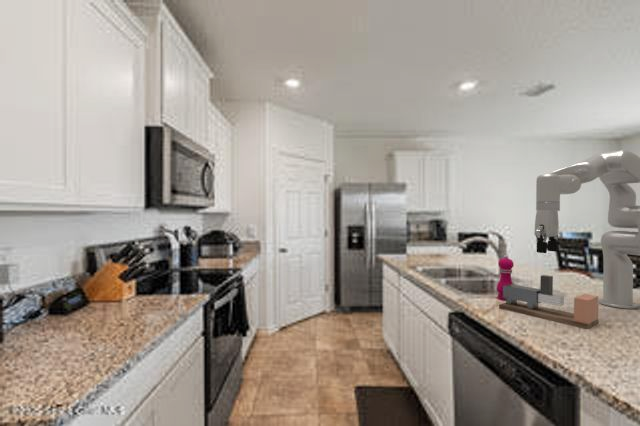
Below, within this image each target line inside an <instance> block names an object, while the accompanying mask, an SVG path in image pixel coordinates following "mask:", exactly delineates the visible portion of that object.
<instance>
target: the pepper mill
mask: <svg viewBox="0 0 640 426" xmlns="http://www.w3.org/2000/svg"><path fill="white" fill-rule="evenodd" d="M498 267H499V273H500V278H499V281H498V283H497V286H496V291H497V292H498V294H497V299H498V300H501V301H506V298H504V297H503V285H507V284H513V285H514V283H513V281H512V273H513V269H512V268H513V267H514V261H513V260H512V259H511V258H509V256H508V255H507V254H504V255H503V257H502V258H500V259H499V260H498Z"/></svg>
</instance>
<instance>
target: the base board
mask: <svg viewBox="0 0 640 426" xmlns="http://www.w3.org/2000/svg"><path fill="white" fill-rule="evenodd" d="M498 306H499V307H498V309H502V310H506V311H510V312H514V313H517V314H522V315H527V316H531V317H535V318H540V319H544V320H548V321H552V322H556V323H561V324H564V325H569V326H573V327H577V328H582V329H590V328H592V327H593V326H596V325H598V324H599V320H600V319H599V318H598V319H597V320H595V321H593V322H591V323H589V324H585V323H580V322H576V321H574V312H573V313H572V312H569V311H565V310H564V311H562V310H558V309H554V308H550V307H544V306H540V305H538V308H537V309H534V310H530V309H527V302H522V301H517V304H513V305H508V304H506V302H503V303H501V304H499V305H498Z"/></svg>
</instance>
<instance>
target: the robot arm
mask: <svg viewBox="0 0 640 426" xmlns="http://www.w3.org/2000/svg"><path fill="white" fill-rule="evenodd" d="M598 178H599V180H600V182H602V184H603V185H604V187H605V188H606V190H607V191H608V194H609V205H608V210H607V211H608V212H607V223H608V225H609V226H611V227H614V228H620V229H637V231H627V230H610V231H606V232H604V233H603V234H602V235H601V237H600V245H601V250H602V255H603V257H602V258H603V275H602V276H603V277H602V279H603V280H602V284H603V286H602V298H598V304H599V305H600V304H601V305H603V306H607V307H612V308H619V309H628V310H631V309H632V310H634V309H638V304H637V303H635V302H633V301H634V299H633V298H634V297H633V296H634V291H633V290H634V264H633V261H632V260H631V258H630V257H629V256H631V255H632V256H640V205H637V203H636V202H637V194H636V193H637V192H636V191H635V190H634V189H633V188H632V187H631V186H630V185H629V184H640V156H639V155H637V154H635V153H633V152H632V151H629V150H628V149H627V150H626V149H619V150H612V151H604V152H599V153H596V154H594V155H592V156H590V157H588V158H585V160H582V161H580V162H578V163H576V164H572V165H569V166H566V167H564V168H563V167H562V168H560V169H557V170H554V171H551V172H549V173H548V174H547V173H546V174H539V175H538V176H537V177H536V186H535V187H536V189H535V190H536V192H535V193H536V194H535V195H536V196H535V198H536V199H535V205H536V206H535V211H536V213H535V217H534V218H535V220H534V235H535V238H536V239H535V240H536V253H538V254H539V253H541V254H547V251H548V252H555V253H556V252H558V251H559V250H558V247H559V246H558V245H559V243H558V242H559V238H558V237H559V228H560V227H559V226H560V225H559V224H560V223H559V212H560V211H561V195H572V194H575V193H577V192H579V190H580V189H581V188H582V187H581V186H582V184H586V183H590V182H592V181H594V180H596V179H598ZM547 239H548V240H547ZM628 255H629V256H628Z"/></svg>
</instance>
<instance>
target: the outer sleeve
mask: <svg viewBox="0 0 640 426" xmlns="http://www.w3.org/2000/svg"><path fill="white" fill-rule="evenodd" d="M537 292H540V288H534V287H529V286H525V285H523V286H522V285H517V284H514V283H513V284H507V285H503V297H504V298H506V300H505V303H506V304H508V305H513V304H517V302H522V303H526V304H527V309H530V310H534V309H537V308H538V306H539V304H542V302H537Z"/></svg>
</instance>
